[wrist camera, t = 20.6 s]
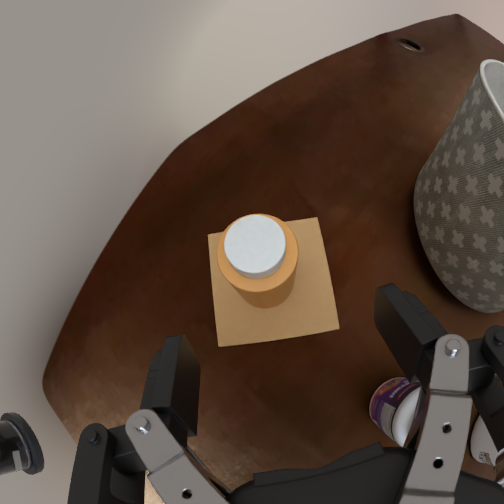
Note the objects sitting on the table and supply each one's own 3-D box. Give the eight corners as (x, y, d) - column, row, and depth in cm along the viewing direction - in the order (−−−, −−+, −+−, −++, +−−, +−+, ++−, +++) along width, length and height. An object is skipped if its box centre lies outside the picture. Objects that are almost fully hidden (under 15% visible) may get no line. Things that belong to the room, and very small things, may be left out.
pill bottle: (416, 371, 21) (475, 378, 12) (416, 420, 20) (469, 446, 10) (366, 382, 22) (411, 401, 12) (367, 433, 20) (406, 473, 11)
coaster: (219, 346, 24) (218, 346, 24) (209, 236, 28) (207, 234, 27) (338, 329, 24) (339, 328, 23) (316, 219, 27) (317, 217, 27)
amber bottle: (240, 312, 25) (214, 293, 15) (234, 257, 26) (207, 210, 17) (298, 303, 24) (307, 279, 15) (288, 249, 26) (290, 196, 17)
